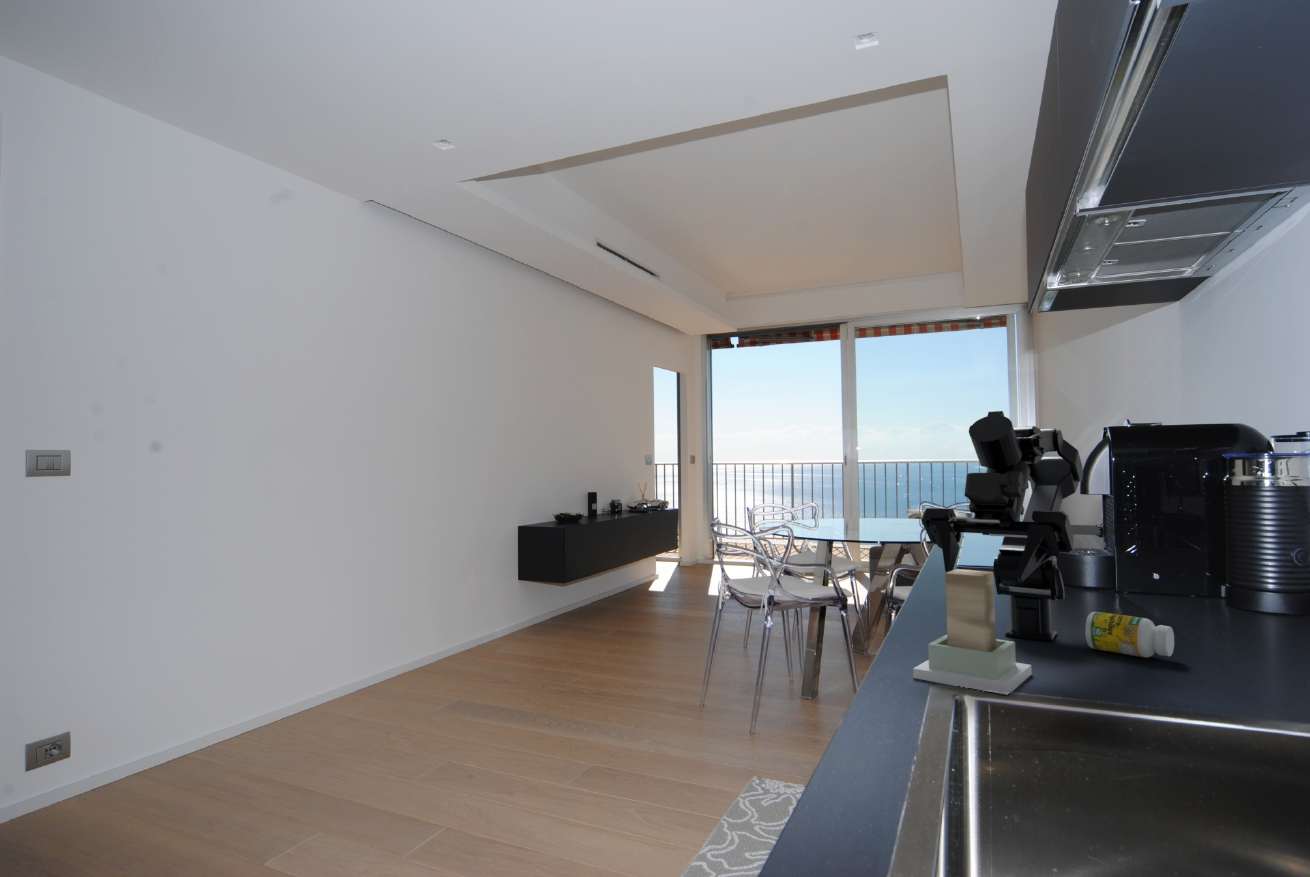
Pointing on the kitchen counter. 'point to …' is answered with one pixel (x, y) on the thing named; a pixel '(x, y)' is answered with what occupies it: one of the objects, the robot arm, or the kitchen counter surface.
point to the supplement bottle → (1128, 635)
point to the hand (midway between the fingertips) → (982, 576)
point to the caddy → (973, 666)
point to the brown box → (970, 609)
